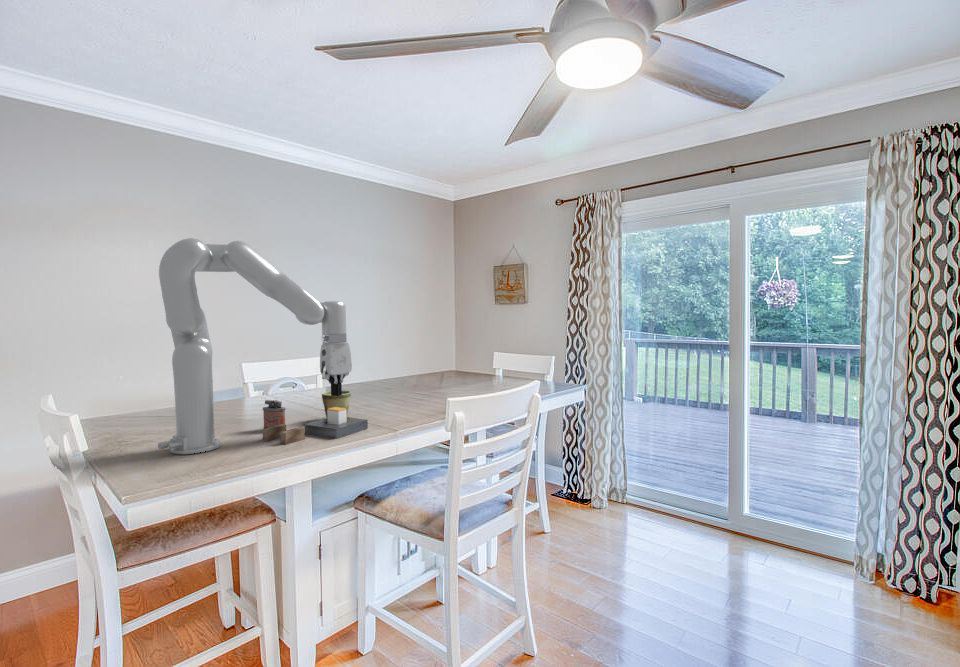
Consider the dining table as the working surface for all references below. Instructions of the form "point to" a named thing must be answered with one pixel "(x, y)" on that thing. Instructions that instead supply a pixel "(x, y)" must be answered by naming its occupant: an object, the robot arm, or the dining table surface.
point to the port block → (336, 428)
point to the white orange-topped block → (336, 415)
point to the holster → (283, 434)
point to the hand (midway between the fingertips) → (336, 395)
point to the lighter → (273, 413)
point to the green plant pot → (336, 400)
